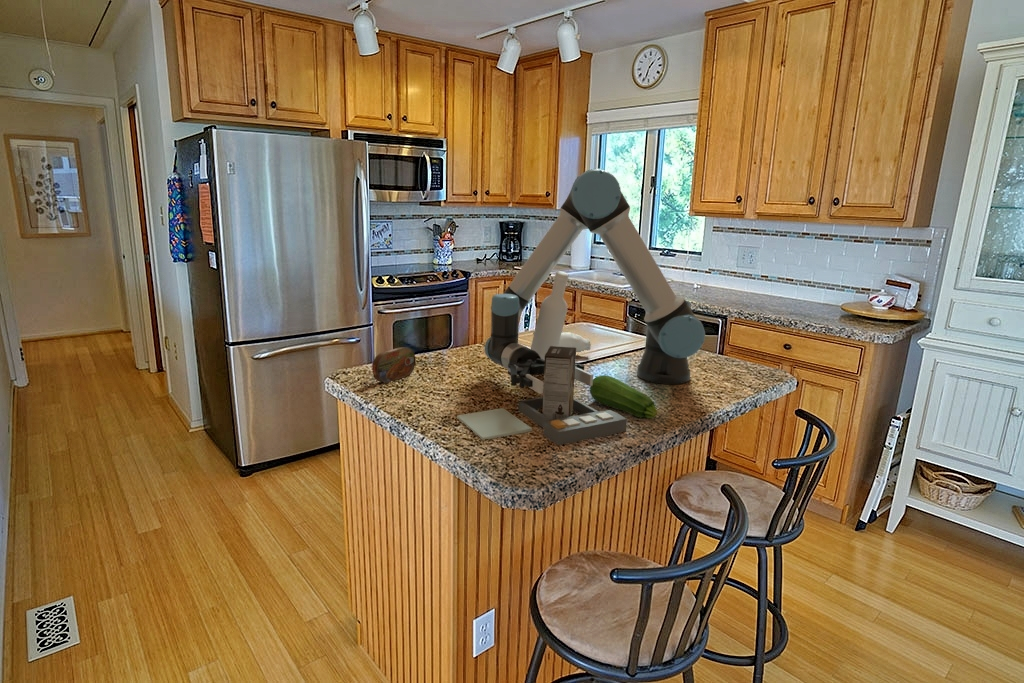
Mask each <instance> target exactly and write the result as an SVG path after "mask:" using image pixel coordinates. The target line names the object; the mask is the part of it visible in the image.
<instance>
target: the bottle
mask: <svg viewBox="0 0 1024 683" xmlns="http://www.w3.org/2000/svg"><path fill="white" fill-rule="evenodd" d="M569 276H570V275H569V274H568V273H567V272H565V271H563V270H562V271H561V270H560V271H557V272H555V275H554V280H553V285H552V288H551V292H550V294H549V295H548V296H546V297H544V299H543V300H542V302H541V303H540V307H539V311H538V316H537V320H536V324H535V329H534V331H533V332H534V335H533V337H532V342H531V345H530V349H532V350H534V351H536V352H537V353H538V354H539V356H540V358H541V359H543V360H545V354H546V353H547V351H548V349H549V348H550V346H557V347H558V344H559V340H560V337H561V333H562V332H563V330H564V329H563V328H564V325H565V321H566V317H567V313H568V303H567V301H566V299H565V298H564V295H565V291H566V289H567V283H568V281H569Z"/></svg>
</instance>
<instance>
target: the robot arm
mask: <svg viewBox="0 0 1024 683" xmlns="http://www.w3.org/2000/svg"><path fill="white" fill-rule="evenodd" d="M559 210H560V211H559V212H560V214H559V215H558V217H557V218H556V220H555V221H554V222H553V224H552V225H551V226H550V227H549V229H548V231H547V232H546V233H545V235H544V236H543V237H542V239H541V240H540V242H539V243H538V244H537V245H536V247H535V248H534V250H533V251H532V253H531V254H530V256H529V257H528V258H527V260H526V261H525V263H523V265H522V267H521V268H520V269H519V271H518V272H517V274H516V275H515V276H514V278H513V279H512V281H511V282H510V284H508V286H507V288H506V289H505V291H504V292H503V293H497V294H494V295H493V296H492V297H491V305H490V312H491V313H490V314H491V315H490V320H491V323H490V327H491V328H490V329H491V330H490V337H488V338H487V339H486V340H487V341H486V342H485V344H484V353H485V356H486V357H487V358H488V359H489V360H491V361H492V363H494V364H496V365H499V366H501V367H503V368H504V369H506V370H507V374H508V375H509V377H510V384H511V386H517V384H519V388H520V389H525V387H527V388H529V389H531V390H533V391H535V393H538V394H539V395H543V389H544V380H541V379H539V378H537V377H535V376H536V375H537V376H542V375H543V376H544V363H545V360H543V359H541V358H540V356H539V354H538V353H537V352H536V351H534V350H532V349H531V347H527V346H525V345H523V344H520V343H519V328H520V316H521V314H522V312H523V311H524V310H525V308H526V307H527V306H528V304H529V303H530V301H531V300H532V298H533V297H534V295H535V294H536V293H537V292H538V291H539V289H540V288H541V286H543V284H544V283H545V281H546V280H547V279H548V278H549V276H550V275H551V273H552V272H553V270H554V269H555V267H556V266H557V265H558V263H560V261H561V260H562V258H563V257H564V256H565V254H566V253H567V252H568V250H569V249H570V247H571V246H572V244H574V242H575V240H577V238H578V237H579V235H580V234H581V233H582V232H583V230H589V232H590V233H591V234H596V235H598V236H599V237H600V238H601V240H602V242H603V244H604V245H605V246H606V249H607V251H608V252H609V254H610V255H611V257H612V259H613V260H614V262H615V263H616V265H617V267H618V268H619V270H620V271H621V273H622V275H623V276H624V278H625V280H626V281H627V283H628V284H629V286H630V288H631V289H632V291H633V293H634V295H635V297H636V298H637V299H638V301H639V304H641V306H642V308H643V309H644V311H645V316H644V318H643V321H644V322H645V324H646V333H645V334H646V336H645V337H646V338H645V347H644V351H643V354H642V357H641V360H640V363H639V364H638V365H637V371H636V376H637V377H638V376H639V377H638V378H640V379H642V380H644V381H647V382H650V381H651V383H656V384H660V385H661V384H663V385H680V384H685V382H686V383H688V382H689V381H690V380H691V370H690V368H689V362H688V358H689V357H692V356H693V355H695V354H696V353H697V352H698V351H700V349H701V348H702V346H703V345H704V342H705V339H706V331H705V327H704V325H703V322H702V320H700V319H699V318H698V317H696V315H695V314H694V312H693V311H692V305H691V304H692V303H691V302H690V301H689V300H686V299H685V296H680V295H676V294H675V292H674V290H673V289H672V287H671V286H670V284H669V282H668V280H667V278H666V277H665V275H664V274H663V272H662V270H661V269H660V267H659V265H658V264H657V261H656V260H655V259H654V257H653V255H652V253H651V252H650V251H649V249H648V247H647V245H646V243H645V242H644V240H643V238H642V237H641V235H640V234H639V231H638V230H637V229H636V226H635V225H634V223H633V222H632V220H631V219H630V216H629V214H630V210H631V206H630V204H629V202H628V201H627V199H626V198H625V196H624V194H623V192H622V190H621V186H620V183H619V181H618V180H617V178H616V177H615V175H613V174H612V173H611V172H609V171H607V170H605V169H601V168H593V169H587V170H585V172H581V174H579V176H578V177H577V178H576V179H575V180H574V182H573V183H572V186H571V188H570V191H569V193H568V195H567V197H566V199H565V201H564V202H563V203H562V205H561V206H560V207H559ZM593 379H594V374H593V373H590V372H588V371H586V370H585V365H584V364H581V363H575V378H574V380H577V381H579V382H581V383H583V384H585V385H587V386H589V387H590V386H593Z"/></svg>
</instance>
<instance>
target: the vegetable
mask: <svg viewBox="0 0 1024 683" xmlns="http://www.w3.org/2000/svg"><path fill="white" fill-rule="evenodd" d="M589 393H590V395H591V397H592V399H593V400H595V402H597V403H599V404H600V405H603V406H606V407H610V408H613V409H616V410H619V411H622V412H627V413H630V414H631V415H633V416H635V417H637V418H640V417H641V418H640V419H643V418H645V419H655V417H656V416H657V415H658V413H659V411H658V409H657V407H656V404H655V403H654V401H653V400H652V399H651V397H650V396H648V395H647V394H645V393H643V392H641V391H640V390H637V389H635V388H634V387H631V386H630V385H628V384H626V383H624V382H623V381H621V380H619V379H617V378H616V377H613V376H610V375H597V376H596V377H593V386H589Z"/></svg>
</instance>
